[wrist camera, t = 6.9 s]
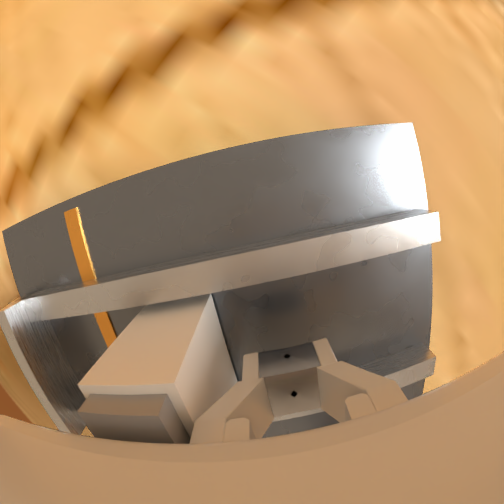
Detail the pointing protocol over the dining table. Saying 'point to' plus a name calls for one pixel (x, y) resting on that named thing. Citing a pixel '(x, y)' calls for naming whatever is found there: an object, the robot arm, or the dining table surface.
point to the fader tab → (159, 374)
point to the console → (237, 261)
